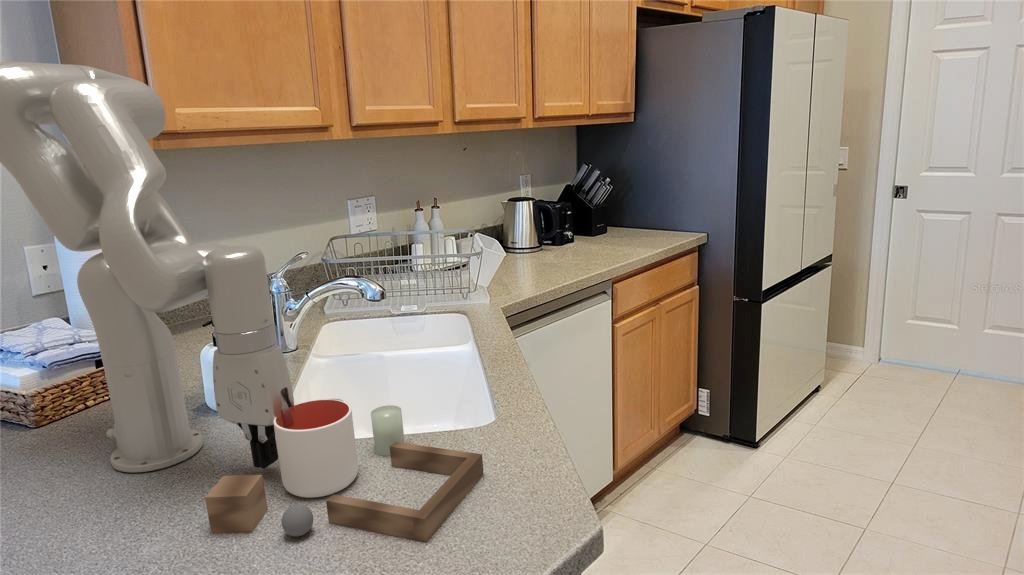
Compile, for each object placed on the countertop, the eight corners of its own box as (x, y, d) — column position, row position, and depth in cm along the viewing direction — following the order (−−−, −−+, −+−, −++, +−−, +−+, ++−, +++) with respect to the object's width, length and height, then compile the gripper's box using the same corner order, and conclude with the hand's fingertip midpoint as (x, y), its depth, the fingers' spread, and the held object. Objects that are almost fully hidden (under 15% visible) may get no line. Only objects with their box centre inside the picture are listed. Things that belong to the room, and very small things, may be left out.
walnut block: (211, 534, 83) (204, 497, 82) (229, 511, 88) (223, 476, 87) (252, 533, 83) (246, 496, 82) (267, 510, 88) (262, 474, 87)
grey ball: (277, 539, 81) (272, 512, 80) (297, 522, 85) (293, 496, 84) (302, 545, 80) (298, 517, 79) (321, 527, 83) (317, 501, 82)
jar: (369, 454, 101) (364, 416, 100) (385, 440, 105) (381, 404, 104) (395, 458, 100) (391, 419, 98) (410, 444, 104) (406, 407, 102)
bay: (328, 522, 84) (325, 500, 83) (397, 461, 99) (395, 441, 98) (426, 542, 79) (424, 519, 78) (483, 474, 94) (482, 454, 93)
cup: (365, 461, 99) (357, 396, 97) (351, 499, 89) (343, 428, 87) (294, 466, 99) (285, 401, 96) (273, 504, 89) (262, 433, 87)
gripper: (182, 344, 92) (205, 469, 97) (272, 352, 87) (292, 484, 91) (224, 327, 99) (244, 445, 103) (310, 333, 93) (326, 457, 98)
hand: (266, 463), depth 97 cm, fingers closed
